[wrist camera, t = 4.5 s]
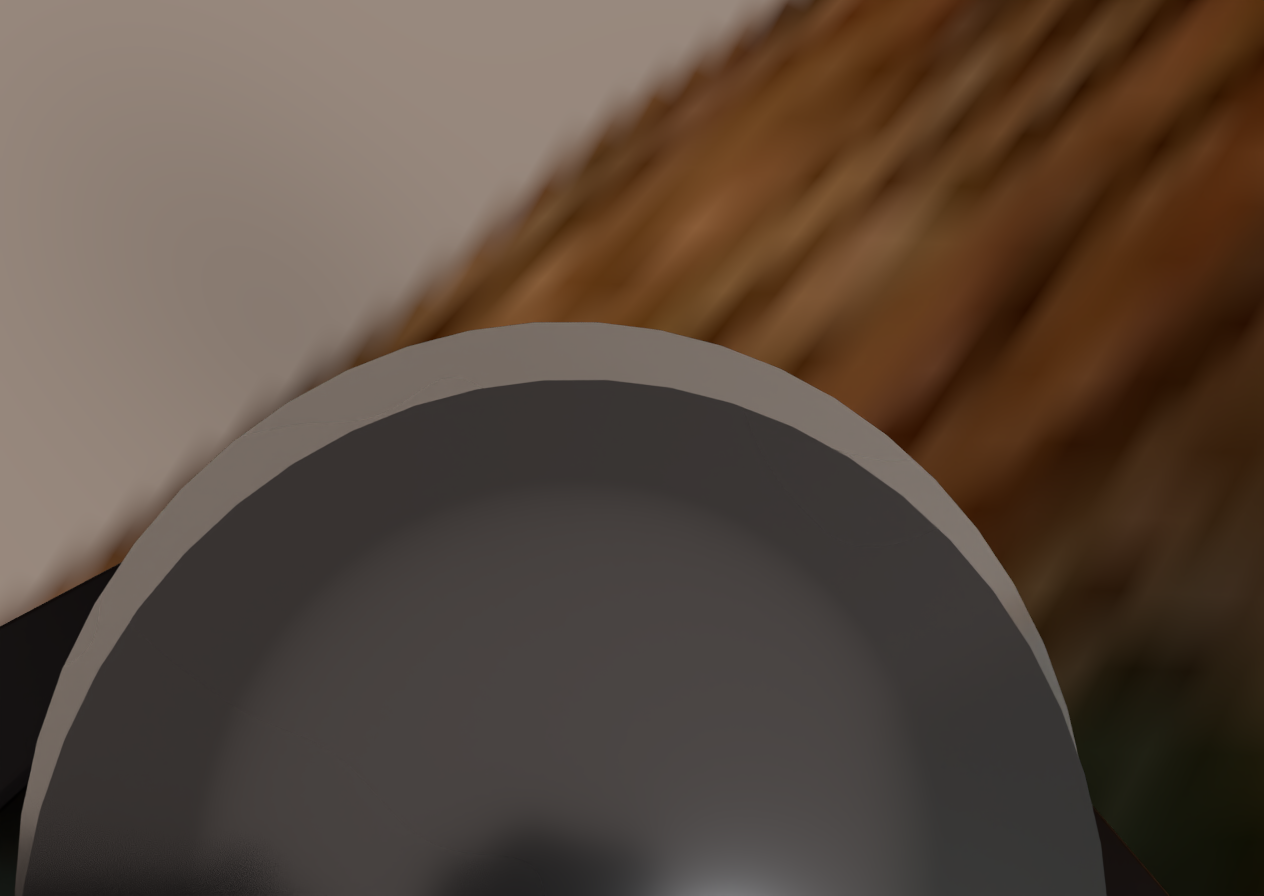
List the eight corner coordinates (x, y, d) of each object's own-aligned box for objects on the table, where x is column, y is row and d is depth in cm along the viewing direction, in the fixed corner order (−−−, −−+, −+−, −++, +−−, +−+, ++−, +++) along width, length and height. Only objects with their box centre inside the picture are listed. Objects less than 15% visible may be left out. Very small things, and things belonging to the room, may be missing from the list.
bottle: (775, 671, 16) (1546, 653, 4) (606, 961, 15) (874, 2311, 3) (511, 501, 16) (386, -57, 4) (328, 776, 15) (-643, 1217, 3)
